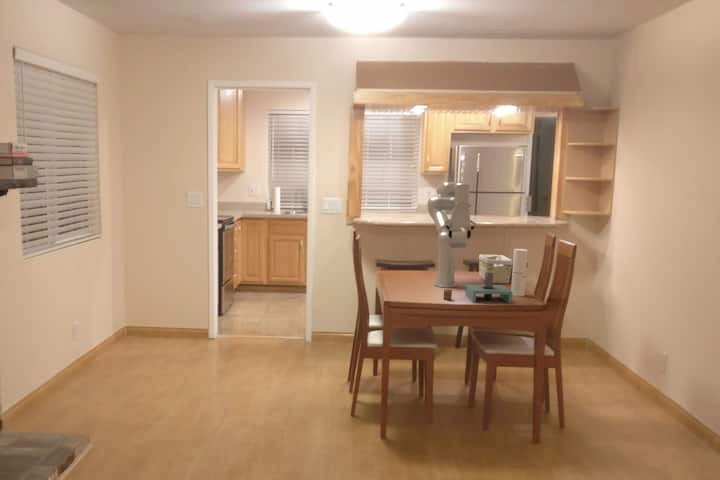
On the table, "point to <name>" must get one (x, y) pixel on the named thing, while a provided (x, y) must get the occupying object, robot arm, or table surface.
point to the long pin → (488, 284)
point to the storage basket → (495, 267)
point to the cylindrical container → (519, 272)
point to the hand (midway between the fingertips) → (459, 238)
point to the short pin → (447, 294)
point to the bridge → (488, 292)
